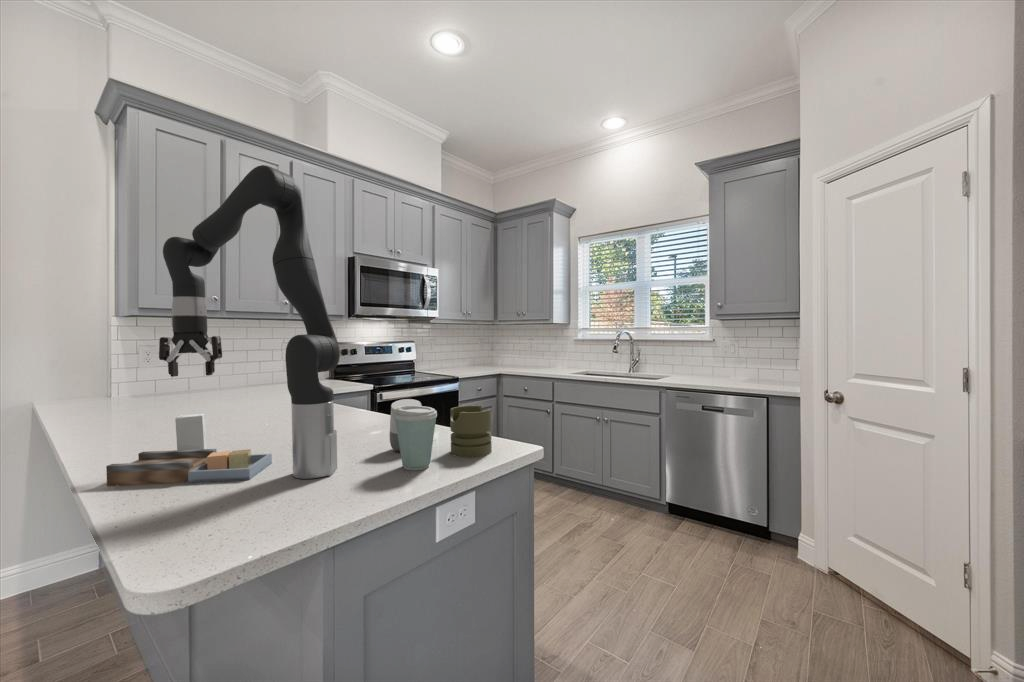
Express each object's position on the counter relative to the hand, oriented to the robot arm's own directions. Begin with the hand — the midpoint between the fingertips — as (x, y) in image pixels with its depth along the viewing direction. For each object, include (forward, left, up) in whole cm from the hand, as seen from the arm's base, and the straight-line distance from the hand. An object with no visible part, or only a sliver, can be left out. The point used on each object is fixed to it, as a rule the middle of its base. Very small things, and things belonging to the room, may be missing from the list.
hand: (191, 375), depth 121 cm
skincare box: (0, 0, -23) cm, 23 cm away
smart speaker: (-55, -1, -23) cm, 60 cm away
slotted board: (0, +13, -23) cm, 26 cm away
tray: (-15, +13, -23) cm, 30 cm away
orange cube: (-12, +13, -22) cm, 28 cm away
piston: (-73, +4, -23) cm, 77 cm away
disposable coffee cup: (-59, +16, -23) cm, 66 cm away
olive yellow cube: (-15, +12, -20) cm, 28 cm away
